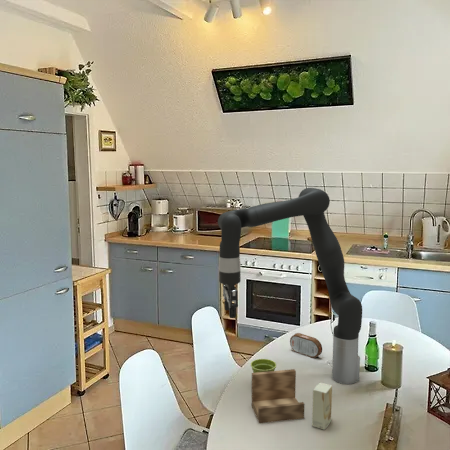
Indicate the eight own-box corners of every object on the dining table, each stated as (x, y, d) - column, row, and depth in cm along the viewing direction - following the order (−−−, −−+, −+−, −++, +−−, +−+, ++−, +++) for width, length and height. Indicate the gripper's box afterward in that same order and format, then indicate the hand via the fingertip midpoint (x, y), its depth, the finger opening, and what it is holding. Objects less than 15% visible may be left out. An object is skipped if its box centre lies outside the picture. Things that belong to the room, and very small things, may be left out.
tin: (322, 358, 195) (323, 339, 194) (318, 360, 193) (319, 341, 192) (292, 348, 205) (293, 330, 204) (288, 350, 203) (288, 332, 202)
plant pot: (274, 393, 166) (275, 371, 165) (248, 391, 168) (248, 368, 167) (277, 381, 175) (277, 359, 174) (252, 379, 177) (252, 357, 176)
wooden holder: (293, 401, 160) (294, 369, 159) (304, 418, 150) (304, 383, 148) (251, 406, 158) (251, 372, 156) (259, 423, 148) (259, 387, 146)
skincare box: (324, 430, 143) (325, 393, 142) (311, 426, 146) (312, 389, 144) (331, 420, 149) (332, 384, 147) (318, 416, 151) (319, 381, 149)
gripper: (244, 273, 156) (245, 319, 158) (235, 264, 170) (236, 306, 172) (223, 274, 155) (223, 321, 157) (215, 265, 169) (216, 308, 171)
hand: (230, 313), depth 165 cm, fingers open, 8 cm apart
